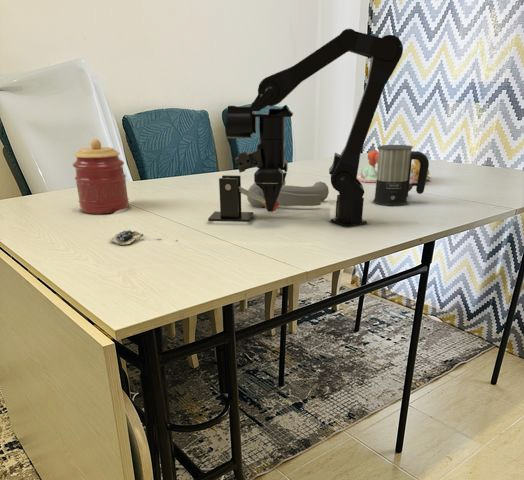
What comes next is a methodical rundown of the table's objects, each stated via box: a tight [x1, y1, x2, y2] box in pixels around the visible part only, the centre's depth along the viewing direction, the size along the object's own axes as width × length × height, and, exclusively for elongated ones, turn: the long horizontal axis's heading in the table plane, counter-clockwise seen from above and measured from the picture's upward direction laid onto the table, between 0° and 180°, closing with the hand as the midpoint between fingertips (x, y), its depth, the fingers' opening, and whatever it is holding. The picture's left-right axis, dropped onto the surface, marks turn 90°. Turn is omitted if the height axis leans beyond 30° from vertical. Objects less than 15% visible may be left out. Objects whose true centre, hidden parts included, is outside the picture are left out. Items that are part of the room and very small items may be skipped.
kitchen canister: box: [72, 138, 130, 215], centre depth 135 cm, size 13×13×18 cm
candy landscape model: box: [357, 149, 432, 184], centre depth 174 cm, size 25×24×9 cm
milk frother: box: [373, 144, 430, 206], centre depth 144 cm, size 14×16×15 cm
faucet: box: [246, 179, 330, 208], centre depth 144 cm, size 7×21×26 cm
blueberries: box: [110, 229, 144, 246], centre depth 112 cm, size 7×8×2 cm
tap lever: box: [227, 177, 279, 213], centre depth 124 cm, size 14×3×3 cm, turn 82°
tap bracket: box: [207, 174, 254, 223], centre depth 125 cm, size 10×8×10 cm
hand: (271, 207), depth 125 cm, fingers open, 9 cm apart
